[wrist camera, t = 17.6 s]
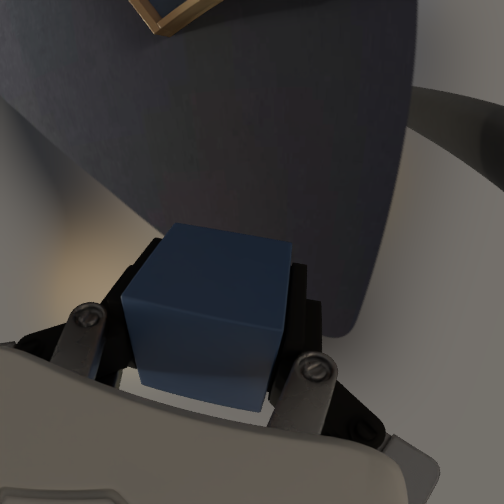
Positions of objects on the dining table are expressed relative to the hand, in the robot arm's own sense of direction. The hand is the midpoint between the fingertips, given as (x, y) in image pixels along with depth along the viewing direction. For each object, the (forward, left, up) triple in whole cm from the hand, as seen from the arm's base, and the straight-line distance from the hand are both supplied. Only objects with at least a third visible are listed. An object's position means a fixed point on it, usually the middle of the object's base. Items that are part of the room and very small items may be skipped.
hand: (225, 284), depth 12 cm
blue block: (0, 0, 0) cm, 0 cm away
